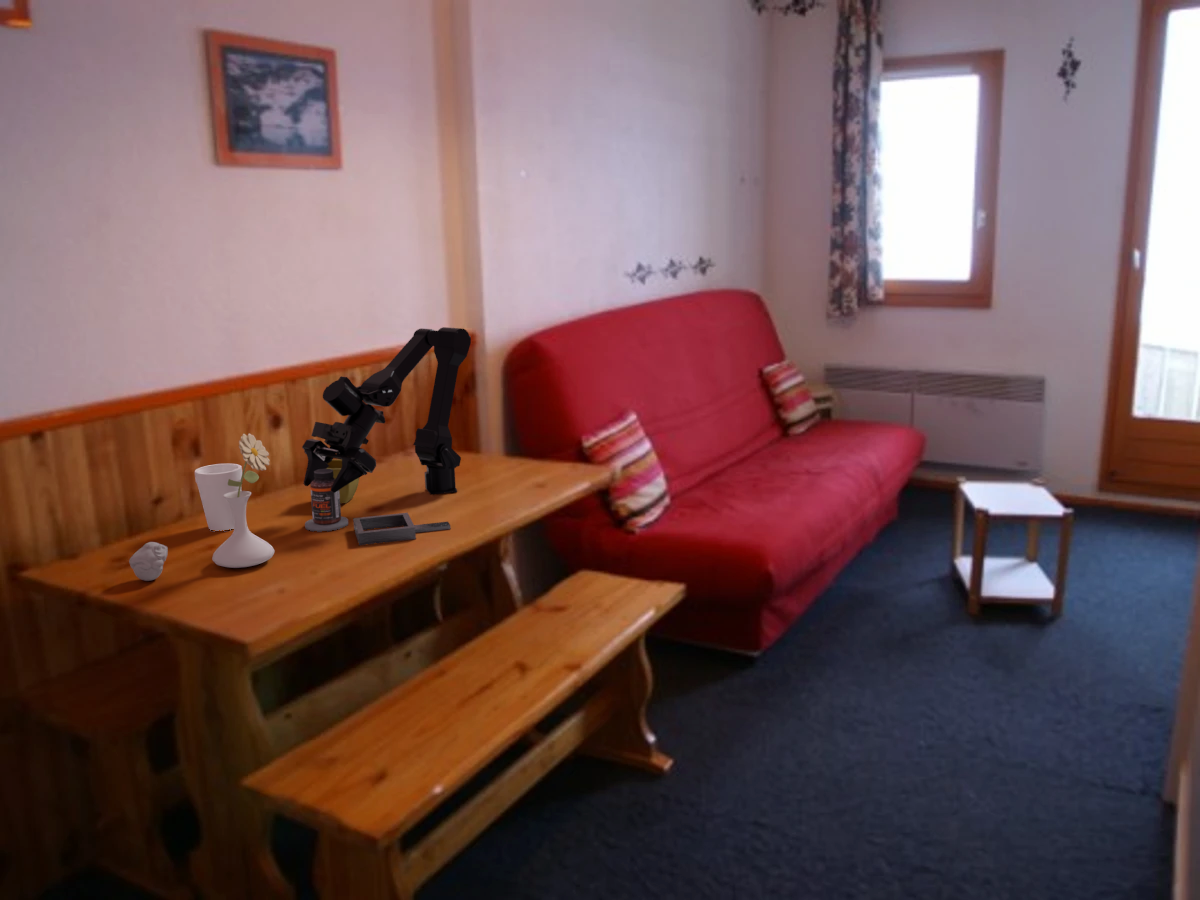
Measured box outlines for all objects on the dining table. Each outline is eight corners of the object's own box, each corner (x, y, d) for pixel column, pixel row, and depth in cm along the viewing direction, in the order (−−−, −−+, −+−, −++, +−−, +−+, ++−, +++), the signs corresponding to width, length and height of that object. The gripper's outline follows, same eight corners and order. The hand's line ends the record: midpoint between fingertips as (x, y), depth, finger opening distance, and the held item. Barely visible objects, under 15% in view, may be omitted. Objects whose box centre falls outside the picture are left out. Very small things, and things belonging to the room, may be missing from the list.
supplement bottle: (310, 526, 220) (305, 474, 217) (316, 518, 225) (312, 467, 223) (338, 525, 220) (333, 473, 217) (344, 517, 225) (340, 466, 223)
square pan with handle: (444, 519, 225) (444, 508, 224) (454, 534, 214) (453, 523, 214) (354, 529, 219) (353, 518, 219) (359, 545, 209) (358, 533, 208)
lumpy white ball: (177, 578, 192) (173, 542, 190) (140, 588, 187) (135, 551, 185) (161, 571, 196) (157, 535, 194) (125, 581, 191) (120, 545, 189)
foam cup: (256, 523, 225) (251, 465, 222) (225, 535, 217) (218, 475, 214) (223, 519, 229) (217, 462, 226) (191, 530, 221) (184, 471, 218)
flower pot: (363, 496, 245) (360, 459, 243) (351, 506, 237) (348, 468, 235) (327, 496, 246) (324, 459, 244) (314, 506, 238) (311, 468, 236)
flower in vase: (240, 577, 192) (226, 445, 186) (200, 567, 198) (185, 439, 192) (294, 556, 203) (283, 432, 197) (255, 547, 209) (243, 426, 203)
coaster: (346, 517, 228) (346, 514, 228) (350, 529, 220) (349, 525, 220) (304, 522, 225) (304, 518, 225) (306, 533, 217) (305, 530, 217)
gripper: (305, 402, 225) (266, 462, 220) (361, 411, 214) (322, 474, 208) (337, 431, 233) (301, 489, 227) (393, 441, 222) (356, 502, 216)
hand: (318, 488), depth 220 cm, fingers open, 9 cm apart
